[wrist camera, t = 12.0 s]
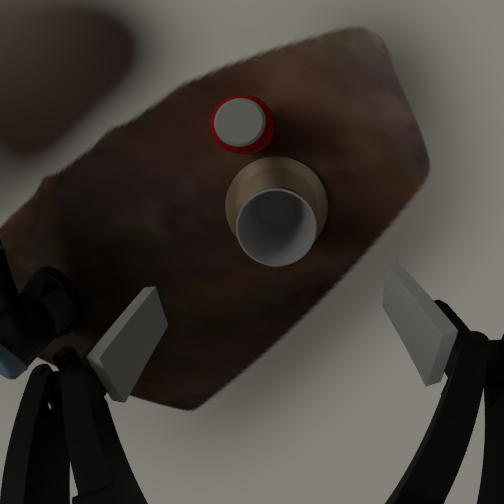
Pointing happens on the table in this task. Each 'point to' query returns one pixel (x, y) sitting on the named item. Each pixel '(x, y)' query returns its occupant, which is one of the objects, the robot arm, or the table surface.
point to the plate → (277, 174)
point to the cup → (276, 226)
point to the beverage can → (242, 124)
